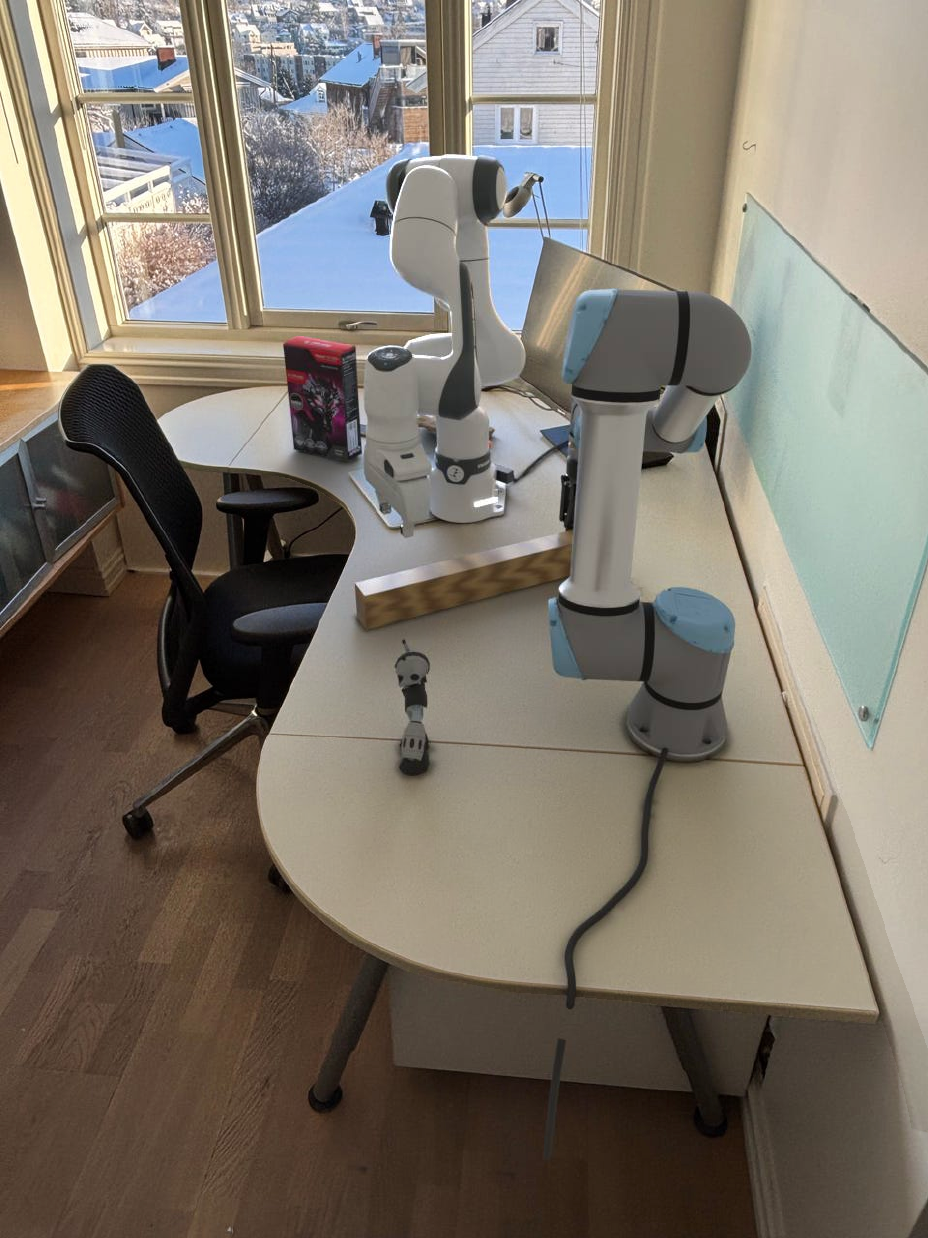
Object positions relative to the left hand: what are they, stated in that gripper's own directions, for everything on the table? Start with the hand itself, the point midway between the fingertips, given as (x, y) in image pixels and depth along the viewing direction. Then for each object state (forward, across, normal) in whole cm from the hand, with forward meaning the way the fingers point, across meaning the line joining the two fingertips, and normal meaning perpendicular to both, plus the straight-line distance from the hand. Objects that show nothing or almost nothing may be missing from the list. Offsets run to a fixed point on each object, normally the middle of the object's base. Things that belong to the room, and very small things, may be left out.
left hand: (396, 523), depth 160 cm
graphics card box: (+19, -74, +13) cm, 78 cm away
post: (+19, 0, +19) cm, 27 cm away
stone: (+19, -69, +44) cm, 84 cm away
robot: (+18, +37, -13) cm, 43 cm away
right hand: (+18, 0, +39) cm, 43 cm away
